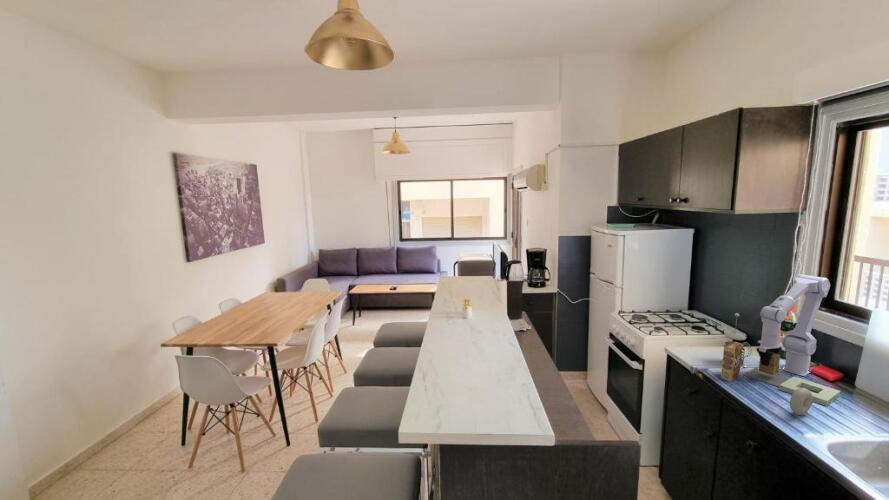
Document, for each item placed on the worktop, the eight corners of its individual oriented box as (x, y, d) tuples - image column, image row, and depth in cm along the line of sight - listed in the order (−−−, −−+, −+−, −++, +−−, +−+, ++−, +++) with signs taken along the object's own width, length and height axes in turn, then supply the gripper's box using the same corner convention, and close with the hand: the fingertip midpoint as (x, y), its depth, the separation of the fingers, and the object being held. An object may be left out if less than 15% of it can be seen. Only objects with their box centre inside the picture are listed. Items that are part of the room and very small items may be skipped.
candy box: (732, 382, 154) (735, 348, 152) (720, 378, 158) (723, 345, 156) (740, 376, 159) (743, 343, 157) (728, 372, 163) (731, 340, 161)
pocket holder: (793, 380, 154) (793, 376, 154) (839, 395, 142) (840, 390, 142) (778, 389, 148) (779, 384, 147) (826, 405, 135) (827, 401, 135)
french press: (728, 357, 177) (732, 309, 174) (755, 367, 167) (760, 316, 163) (715, 361, 174) (719, 311, 171) (741, 371, 163) (746, 319, 160)
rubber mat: (755, 368, 166) (756, 367, 166) (790, 379, 155) (790, 378, 155) (743, 375, 160) (743, 374, 160) (777, 387, 149) (778, 386, 149)
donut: (798, 420, 127) (801, 393, 126) (786, 414, 131) (789, 389, 129) (812, 412, 131) (816, 387, 130) (800, 408, 135) (803, 383, 133)
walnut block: (763, 367, 160) (765, 350, 159) (778, 372, 156) (780, 355, 155) (758, 370, 158) (760, 353, 157) (773, 375, 153) (775, 357, 152)
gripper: (766, 328, 162) (763, 356, 164) (751, 334, 155) (748, 364, 157) (787, 333, 156) (783, 362, 157) (772, 339, 149) (769, 370, 151)
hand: (767, 363), depth 157 cm, fingers closed on walnut block, 5 cm apart
